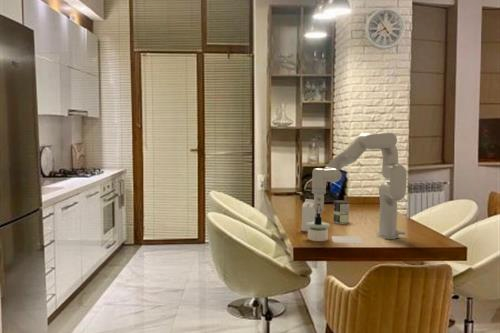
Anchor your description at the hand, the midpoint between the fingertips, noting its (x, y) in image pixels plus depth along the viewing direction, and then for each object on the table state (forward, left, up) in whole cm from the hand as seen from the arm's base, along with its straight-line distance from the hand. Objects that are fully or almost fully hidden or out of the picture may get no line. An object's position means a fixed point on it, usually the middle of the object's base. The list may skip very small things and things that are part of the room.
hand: (318, 223), depth 271 cm
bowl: (0, 0, -9) cm, 9 cm away
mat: (-16, 0, -9) cm, 18 cm away
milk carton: (+4, -23, -9) cm, 25 cm away
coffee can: (-17, -54, -9) cm, 57 cm away
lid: (0, 0, -1) cm, 1 cm away
